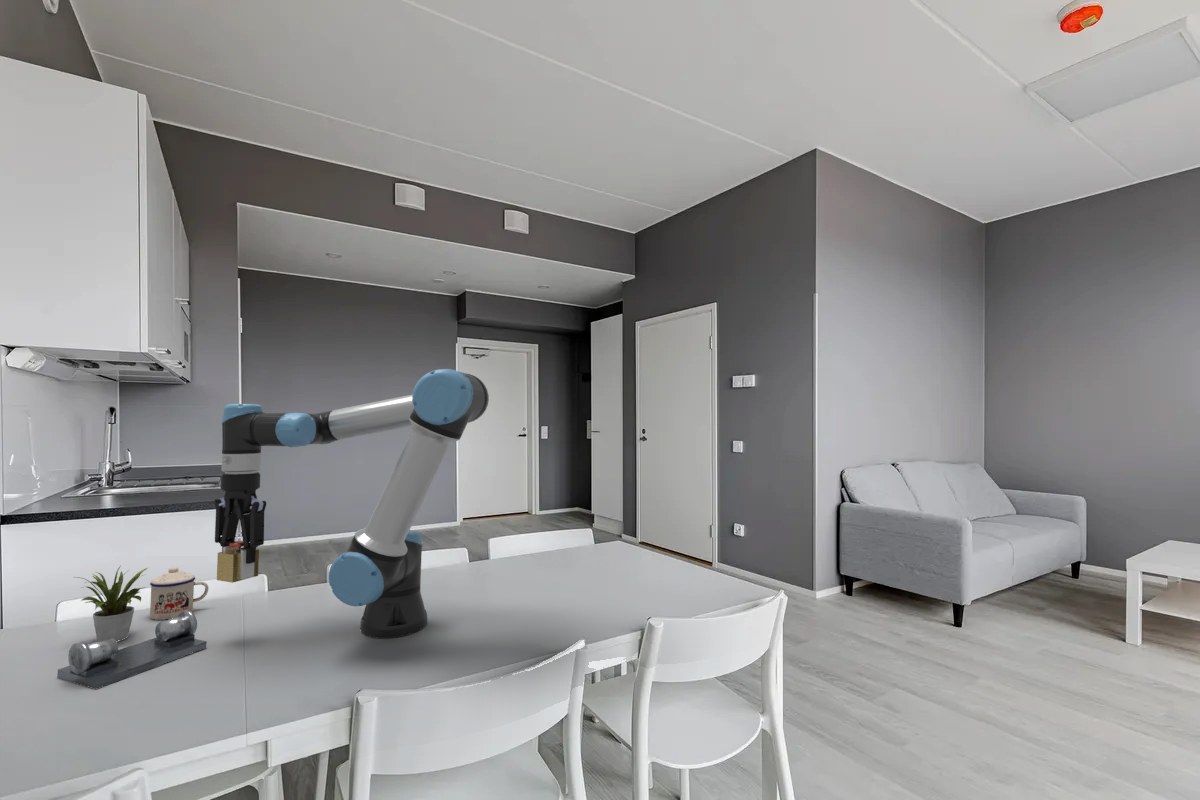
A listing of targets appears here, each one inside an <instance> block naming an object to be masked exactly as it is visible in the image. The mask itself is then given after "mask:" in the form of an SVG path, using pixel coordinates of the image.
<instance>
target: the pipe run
mask: <svg viewBox="0 0 1200 800" xmlns="http://www.w3.org/2000/svg"><path fill="white" fill-rule="evenodd" d="M197 628H198V620H197V617H196V615H195V614H194V612H193V611H192V612H191V611H189V610H187V611H183V612H181V613H180V614H179V615H178V617H176V618H173V619H168V620H162V621H160V622H158V623H157V624H156V626H155V629H154V630H155V637H153V638H151V639H148V640H145V641H141V642H138V643H136V644H131V645H129V646H126V647H123V648H120V649H119V646H118V642H116V640H115V639H114V638H112V637H110V638H107V639H104V640H101V641H97V640H96V641H94V642H92V643H88V644H87V643H86V642H84V641H79V642H75V643H73V644H72V645H71V646H70V649H69V651H68V664H69V665H67V666H65V667H61V668H58V669H57V679H60V680H64V679H65V681H67V680H68V681H67V682H70V681H71V683H74V682H75V683H74V684H77V683H78V685H80V684H82V685H81V686H83V685H85V687H87V686H89V687H88V688H90V687H92V688H91V689H93V688H95V689H94V690H97V689H96V688H98V689H100V688H103V687H105V686H104V685H106V686H109V685H111V684H113V682H114V683H116V681H117V682H119V681H121V680H125V679H127V678H130V677H132V676H136V675H138V674H141V673H144V672H147V671H149V670H151V669H155V668H157V667H160V666H162V664H163V665H165V664H168V663H171V662H173V661H172V660H174V661H176V660H179V659H181V658H180V657H182V656H184V657H186V656H185V655H187V654H190V653H192V652H195V651H198V650H201V651H203V650H205V649H204V648H206V649H207V640H202V639H197V638H195V634H196V632H197V630H198V629H197ZM202 649H203V650H202ZM198 652H199V651H198ZM195 653H196V652H195ZM190 655H191V654H190ZM187 656H188V655H187ZM178 658H179V659H178ZM182 658H183V657H182ZM175 659H176V660H175ZM170 661H171V662H170ZM167 662H168V663H167ZM164 663H165V664H164ZM108 684H109V685H108ZM102 686H103V687H102ZM99 687H100V688H99Z"/></svg>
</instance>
